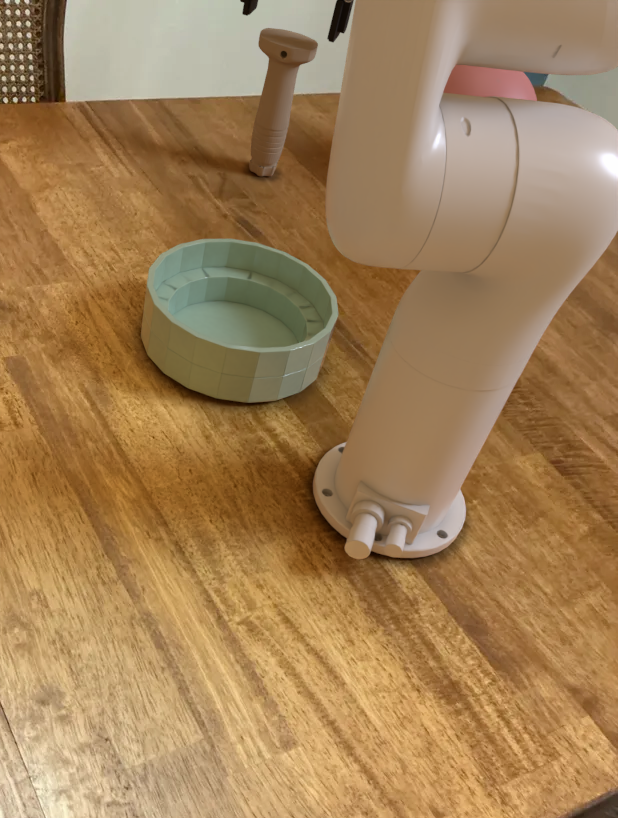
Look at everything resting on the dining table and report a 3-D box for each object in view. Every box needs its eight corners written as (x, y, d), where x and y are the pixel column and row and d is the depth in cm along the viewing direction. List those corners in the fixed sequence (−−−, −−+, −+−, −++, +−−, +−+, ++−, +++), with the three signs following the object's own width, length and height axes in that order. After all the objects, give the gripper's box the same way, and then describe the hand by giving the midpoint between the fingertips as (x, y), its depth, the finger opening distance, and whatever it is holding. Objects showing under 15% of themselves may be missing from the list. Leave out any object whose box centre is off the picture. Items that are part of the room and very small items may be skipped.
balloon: (536, 243, 106) (597, 114, 94) (378, 191, 108) (420, 59, 96) (547, 190, 116) (604, 68, 104) (402, 144, 118) (443, 19, 107)
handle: (283, 187, 105) (314, 54, 94) (232, 173, 105) (256, 38, 94) (290, 169, 108) (320, 39, 97) (240, 156, 108) (264, 24, 97)
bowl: (293, 430, 76) (310, 376, 72) (111, 365, 78) (116, 308, 73) (340, 328, 87) (356, 275, 83) (179, 273, 89) (187, 219, 85)
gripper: (233, -193, 80) (204, 11, 93) (413, -142, 78) (359, 60, 91) (257, -204, 85) (227, -8, 98) (428, -156, 83) (374, 37, 96)
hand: (291, 24), depth 95 cm, fingers open, 9 cm apart
